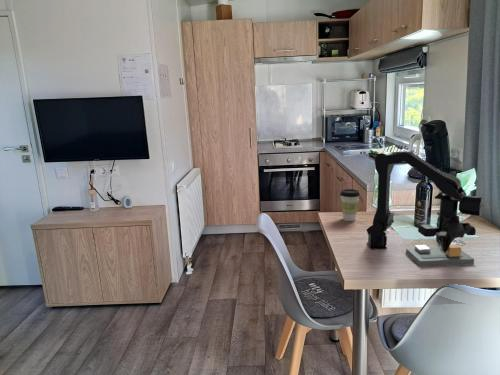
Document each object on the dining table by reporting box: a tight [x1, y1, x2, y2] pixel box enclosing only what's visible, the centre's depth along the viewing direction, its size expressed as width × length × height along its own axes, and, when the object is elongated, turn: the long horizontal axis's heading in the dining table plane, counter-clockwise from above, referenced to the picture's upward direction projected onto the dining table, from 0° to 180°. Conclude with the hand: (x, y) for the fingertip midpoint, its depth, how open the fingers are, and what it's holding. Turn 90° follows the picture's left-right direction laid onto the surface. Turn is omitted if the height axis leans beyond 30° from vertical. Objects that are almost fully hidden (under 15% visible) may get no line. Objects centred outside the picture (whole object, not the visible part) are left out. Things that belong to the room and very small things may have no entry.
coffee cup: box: [339, 188, 361, 222], centre depth 191 cm, size 10×10×15 cm
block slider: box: [445, 243, 462, 257], centre depth 140 cm, size 4×3×4 cm
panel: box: [405, 246, 475, 267], centre depth 143 cm, size 20×12×2 cm, turn 91°
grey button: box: [414, 244, 431, 254], centre depth 146 cm, size 4×4×3 cm
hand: (444, 251), depth 140 cm, fingers closed
